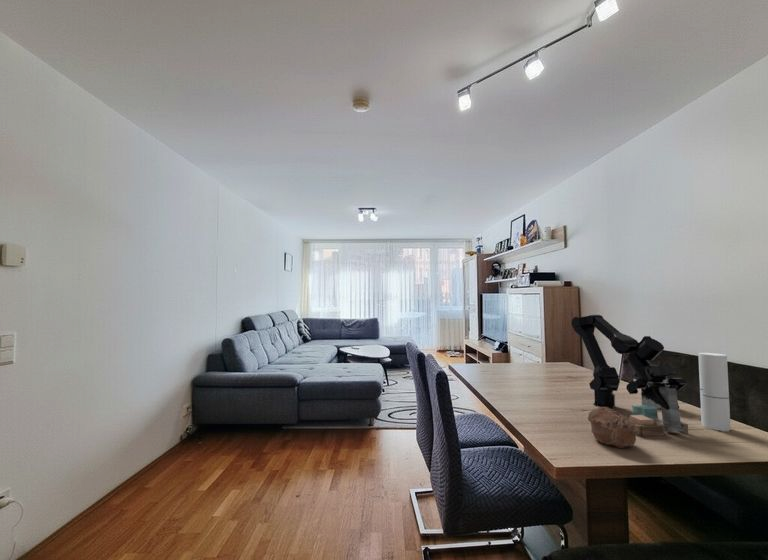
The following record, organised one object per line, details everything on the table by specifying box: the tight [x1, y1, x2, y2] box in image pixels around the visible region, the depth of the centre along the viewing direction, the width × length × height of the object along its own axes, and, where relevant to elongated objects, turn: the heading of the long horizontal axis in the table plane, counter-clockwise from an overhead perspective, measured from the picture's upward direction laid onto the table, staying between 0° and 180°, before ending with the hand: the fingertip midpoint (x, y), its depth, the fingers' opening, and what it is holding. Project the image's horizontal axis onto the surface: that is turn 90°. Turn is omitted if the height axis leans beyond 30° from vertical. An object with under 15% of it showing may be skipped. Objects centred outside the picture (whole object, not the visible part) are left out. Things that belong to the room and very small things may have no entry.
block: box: [629, 414, 654, 425], centre depth 113 cm, size 4×4×4 cm
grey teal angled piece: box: [632, 387, 684, 432], centre depth 117 cm, size 14×5×13 cm, turn 7°
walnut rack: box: [635, 421, 689, 437], centre depth 113 cm, size 8×18×3 cm, turn 96°
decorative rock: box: [587, 406, 639, 449], centre depth 103 cm, size 13×11×10 cm
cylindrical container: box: [698, 351, 732, 432], centre depth 117 cm, size 7×7×25 cm
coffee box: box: [640, 364, 668, 410], centre depth 141 cm, size 9×6×16 cm
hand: (673, 409), depth 111 cm, fingers closed on grey teal angled piece, 3 cm apart
